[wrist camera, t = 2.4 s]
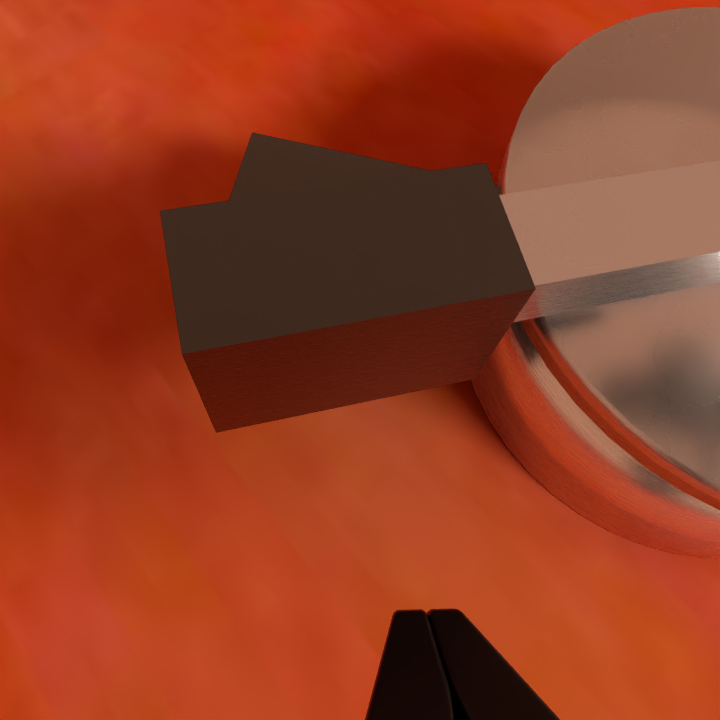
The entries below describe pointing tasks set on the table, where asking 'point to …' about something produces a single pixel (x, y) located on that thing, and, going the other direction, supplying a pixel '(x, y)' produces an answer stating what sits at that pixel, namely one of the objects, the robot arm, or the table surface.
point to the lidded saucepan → (494, 262)
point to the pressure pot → (521, 390)
